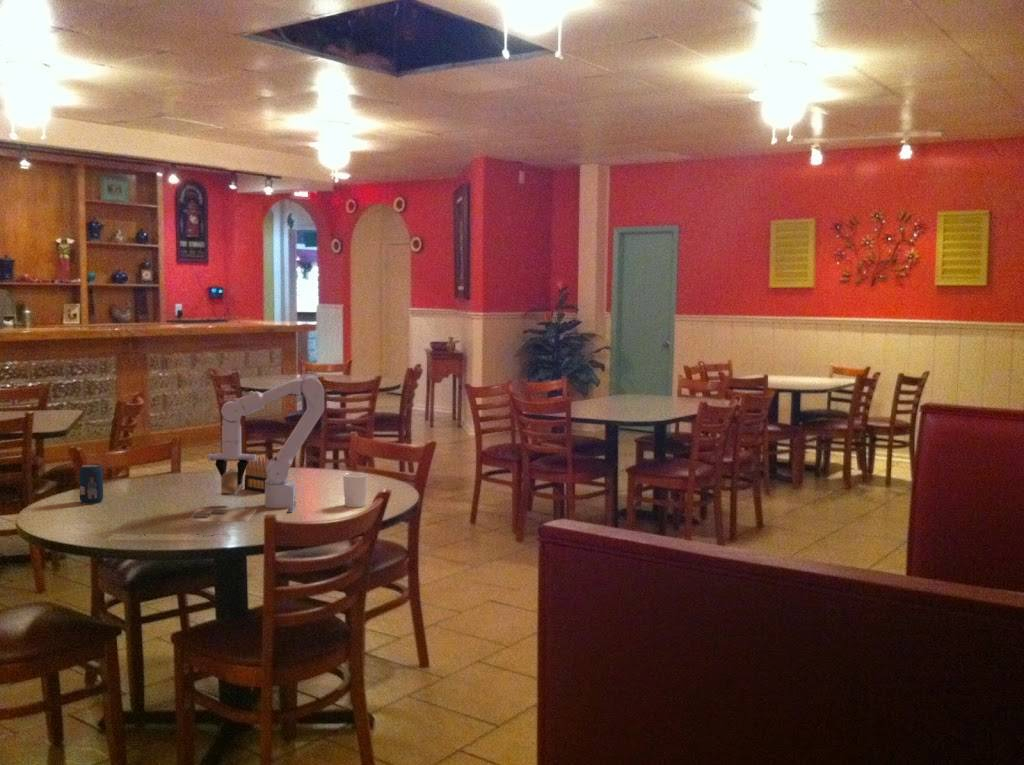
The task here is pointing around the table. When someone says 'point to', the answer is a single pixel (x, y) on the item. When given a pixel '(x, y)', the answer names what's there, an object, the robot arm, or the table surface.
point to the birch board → (225, 515)
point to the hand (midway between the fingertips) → (232, 484)
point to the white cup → (355, 489)
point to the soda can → (91, 483)
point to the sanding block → (230, 482)
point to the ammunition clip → (256, 475)
